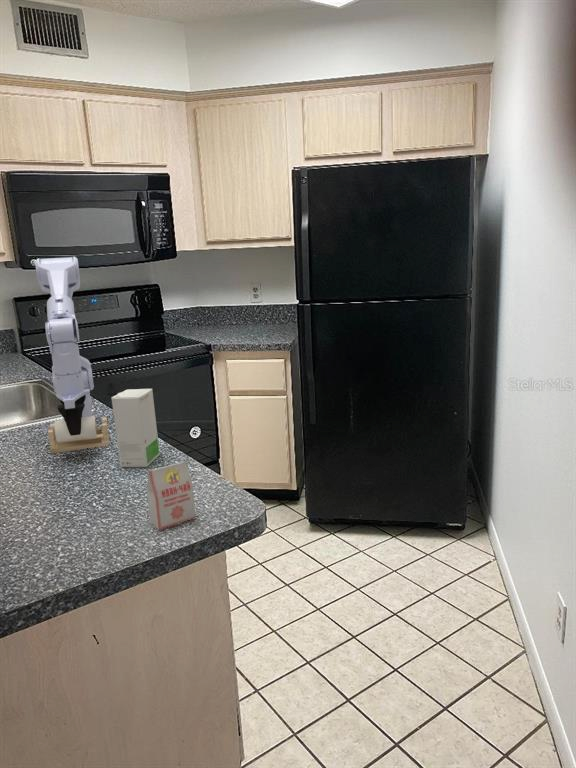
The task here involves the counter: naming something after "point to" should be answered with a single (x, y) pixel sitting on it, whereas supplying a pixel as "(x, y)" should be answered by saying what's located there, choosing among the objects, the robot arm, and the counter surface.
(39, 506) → the counter surface
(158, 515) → the tea bag
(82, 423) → the paper roll
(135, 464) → the skincare box
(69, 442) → the holder
